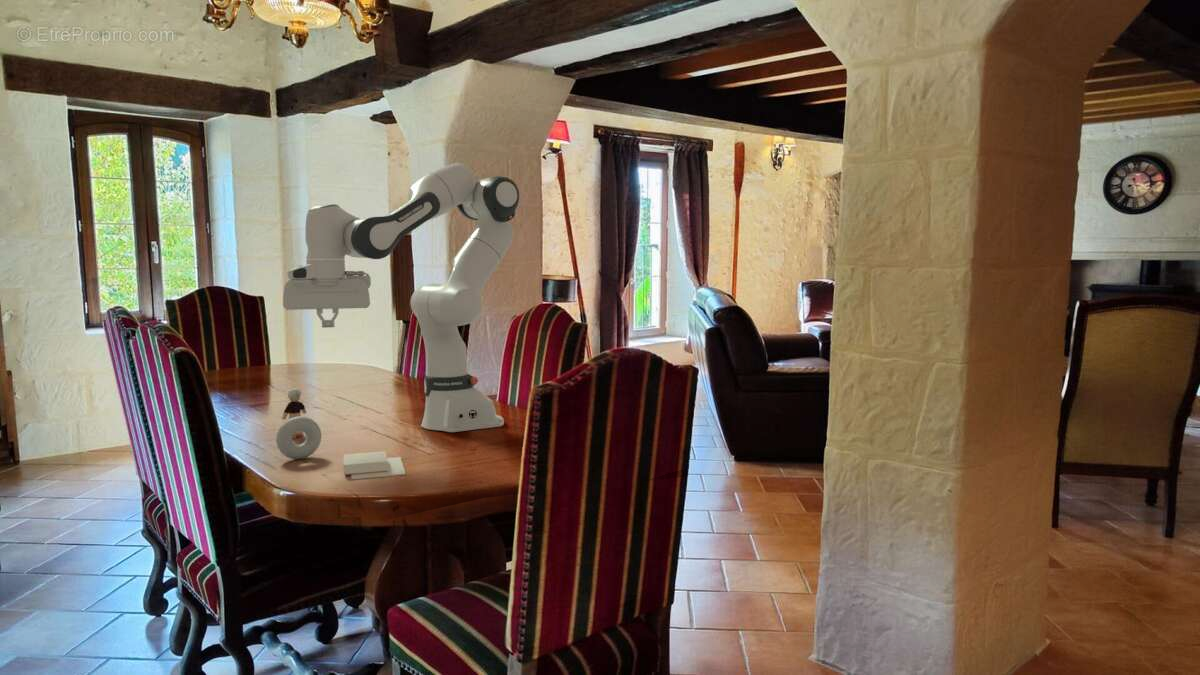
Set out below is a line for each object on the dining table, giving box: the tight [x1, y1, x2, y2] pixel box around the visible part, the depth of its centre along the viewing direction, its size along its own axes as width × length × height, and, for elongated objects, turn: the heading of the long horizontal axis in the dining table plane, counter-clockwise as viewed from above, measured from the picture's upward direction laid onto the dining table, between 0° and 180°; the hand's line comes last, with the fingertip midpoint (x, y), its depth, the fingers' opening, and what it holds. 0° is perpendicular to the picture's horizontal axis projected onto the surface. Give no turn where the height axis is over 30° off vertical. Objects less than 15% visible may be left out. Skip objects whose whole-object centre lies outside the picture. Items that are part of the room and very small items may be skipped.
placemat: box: [350, 456, 406, 480], centre depth 166 cm, size 11×14×1 cm
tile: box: [343, 450, 388, 476], centre depth 165 cm, size 2×9×9 cm
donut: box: [275, 415, 322, 460], centre depth 173 cm, size 10×4×10 cm, turn 128°
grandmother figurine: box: [281, 387, 307, 440], centre depth 195 cm, size 8×4×13 cm, turn 168°
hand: (328, 327), depth 186 cm, fingers closed
